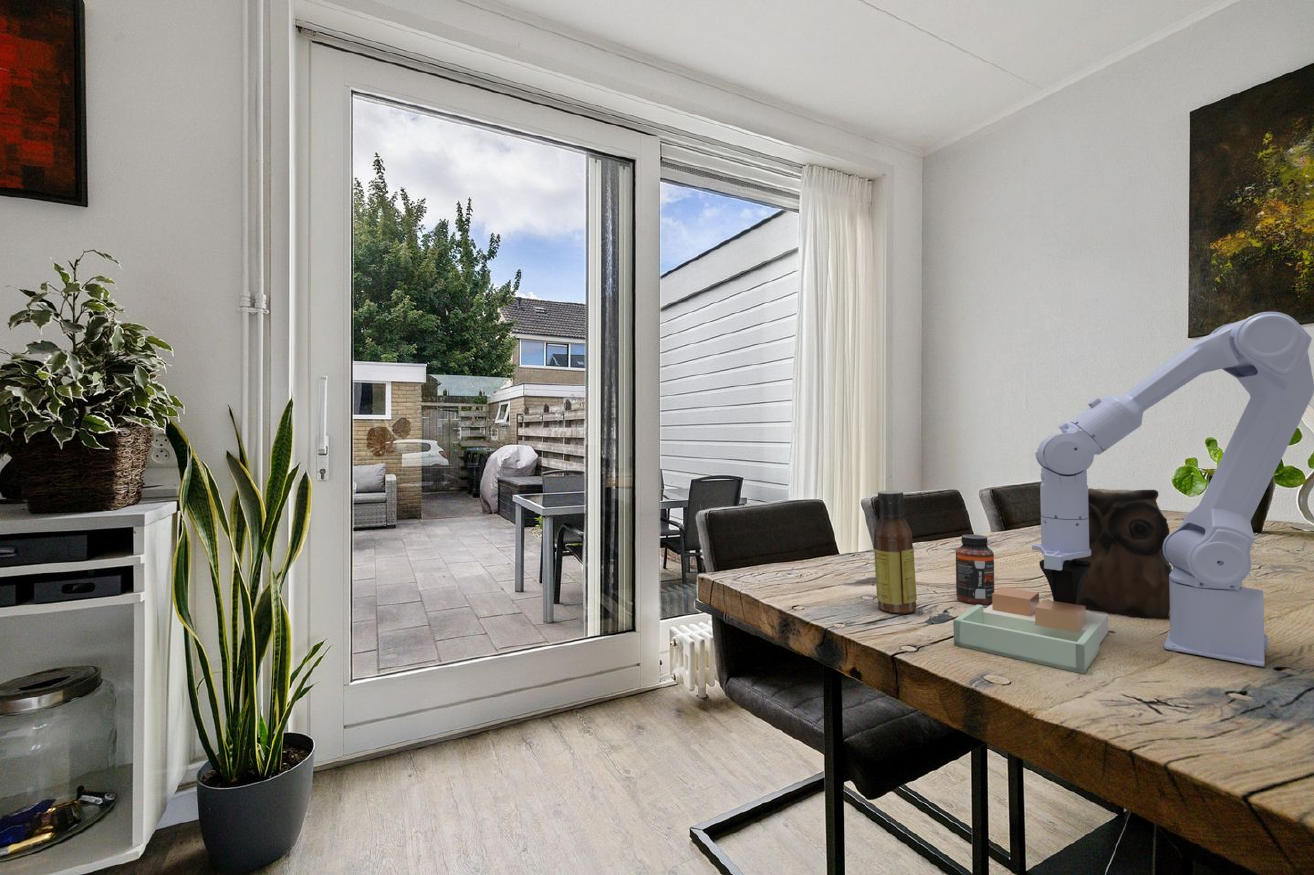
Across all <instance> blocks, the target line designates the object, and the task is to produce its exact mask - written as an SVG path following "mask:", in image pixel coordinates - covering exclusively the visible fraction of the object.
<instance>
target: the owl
mask: <svg viewBox="0 0 1314 875" xmlns="http://www.w3.org/2000/svg"><path fill="white" fill-rule="evenodd" d="M1158 497H1159V491H1158V490H1156V489H1136V490H1132V489H1108V488H1096V489H1095V488H1089V487H1088V511H1089V548H1090V549H1091V555H1090V556H1088V557H1082V558H1076V560H1082V561H1088V562H1091V567H1090V569H1089V570H1088V572H1087V574H1086V576H1085V578H1084V581H1083V583H1082V587H1081V591H1080V596H1079V601H1078V605H1083V606H1086V611H1088V612H1097V613H1099V612H1100V613H1106V614H1107V615H1117V616H1124V617H1128V618H1132V619H1133V618H1138V619H1139V618H1140V619H1164V620H1165V619H1166V620H1170V593H1169V574H1170V573H1171V572H1172V570H1173V567H1172V565H1171V564H1170V563H1169V562H1168V561H1167V560H1166V558H1165V556H1164V554H1163V542H1164V540H1165V538H1166V537H1167V536H1168V535H1169V534H1170V533H1171V532H1170V528H1169V523H1168V519H1167V517H1165V516H1164V514H1163V512H1162V511H1161V509H1160V507H1159V505H1158V503H1157V499H1158Z"/></svg>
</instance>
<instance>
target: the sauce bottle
mask: <svg viewBox="0 0 1314 875" xmlns="http://www.w3.org/2000/svg"><path fill="white" fill-rule="evenodd" d="M904 495H905V494H904V492H903V491H901V490H881V491H878V492H877V501H878V502H879V503H878V504H879V514H878V515H879V519H878V521H877V524H876V526H875V528H874V530H873V534H874V535H873V549H874V550H873V553H874V572H875V584H876V588H875V589H876V599H877V602H878V603H877V604H878V608H879V609H880V610H882V611H884V612H886V613H891V614H899V615H900V614H901V615H902V614H911V613H914V612H915V611H916V610H917V599H918V598H917V597H918V596H917V581H916V569H915V568H916V567H915V566H916V565H915V564H916V563H915V550H914V548H915V547H914V545H913V535H912V534H913V533H912V528H911V527H910V525H909V524H908V522H907V521H906V518H905V514H904V503H903V502H904V500H905V497H904Z"/></svg>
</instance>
